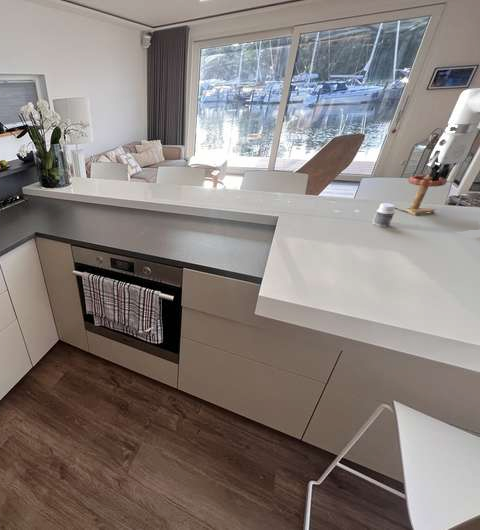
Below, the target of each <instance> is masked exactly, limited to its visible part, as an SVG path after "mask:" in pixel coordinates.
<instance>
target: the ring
mask: <svg viewBox="0 0 480 530" xmlns="http://www.w3.org/2000/svg"><path fill="white" fill-rule="evenodd" d="M429 175H430V174H416V175H411V176H410V177H409V178H408V179H407V182H408V183H410V184H411V185H415V186H419V187H420V186H427V187H428V188H429V187H434V188H436V187H441V186H445V185H446V184H447V182H448V180H447V178H446V179H445V178H443V177H440V178H439V180H438V181H425V180H423V178H424V177H426V176H428V177H429Z"/></svg>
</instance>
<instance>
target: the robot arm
mask: <svg viewBox="0 0 480 530" xmlns="http://www.w3.org/2000/svg"><path fill="white" fill-rule="evenodd" d="M479 125H480V87H473V88H467V89H464V90H463V91H462V92H461V93H460V95H459V97H458V100H457V101H456V104H455V106H454V108H453V110H452V112H451V116H450V117H449V120H448V122H447V124H446V126H445V129H444V130H443V133H442V134H441V136H440V137H439V139H438V141H437V143H436V144H435V146H434V148H433V150H432V152H431V154H430V157H429V161H428V163H427V167H429V168H430V173H429V174H428V175H429V177H433V178H432V181H438V180H439V178H440V177H443V178H445V179H447V178H448V176H449V173H450V172H451V171H452V170H453V169H454V167H455V166H456V165H458V164H460V163H463V162H464V161H465V160H467V157H468V155H469V153H470V150H471V148H472V146H473V143H474V140H475V136H476V131H477V129H478V126H479Z"/></svg>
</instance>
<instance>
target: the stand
mask: <svg viewBox="0 0 480 530" xmlns="http://www.w3.org/2000/svg"><path fill="white" fill-rule="evenodd" d="M432 178H433V177H428V176H426V177H424V178H423V180H425V181H432ZM428 189H429V187H427V186H419V187H418V190H417V192H416V194H415V196H414V199H413V200H412V202H411V203H412V205H411V207H410V208H407V209H406V210H407V211H409V212H410V213H411V214H410V215H412V214H413V215H412V216H419V215H418V214H420V215H423V214H422V213H427V212H432V211H435V212H436V209H435V208H432V207H428V208H419V207H420V205H421V204H422V202H423V200H424V198H425V196H426V193H427V191H428ZM427 214H428V213H427Z"/></svg>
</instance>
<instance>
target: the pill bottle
mask: <svg viewBox="0 0 480 530" xmlns="http://www.w3.org/2000/svg"><path fill="white" fill-rule="evenodd" d="M395 206H396V205H395V204H393V203H389V202H383V203H380V205H379V208H378V209H376V212H375V215H374V218H373V220H372V224H371V225H373V226H376V227H378V228H379V227H380V228H388V227H390V225H391V222H392V219H393V217H394V216H395V210H396V209H395Z"/></svg>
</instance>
